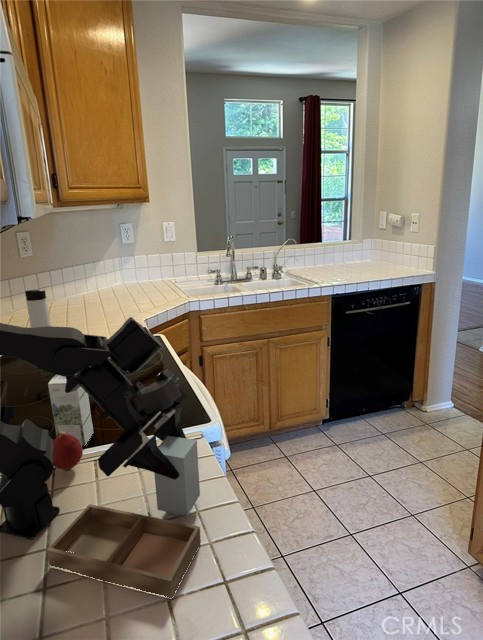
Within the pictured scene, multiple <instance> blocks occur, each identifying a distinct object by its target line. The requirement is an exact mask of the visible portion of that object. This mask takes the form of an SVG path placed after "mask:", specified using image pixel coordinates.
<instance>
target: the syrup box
mask: <svg viewBox="0 0 483 640" xmlns="http://www.w3.org/2000/svg"><path fill="white" fill-rule="evenodd" d="M47 386H48V393H49V398H50V404H51V405H50V406H51V410H52V416H53V422H54V428H55V435H56V438H57V437H58V436H59V435H58V433H59V432H64V433H67V434H70V435H72V436H74V437H76V438H77V439H78V440H79V441H80V443H81V445H82V446H83V445H84V446H85V445H86V444H87V442H88V441H89V442H90V440H91V439H90V438H92V437H93V435H94V426H93V425H94V424H93V420H92V414H91V407H90V406H91V405H90V399H89V397H90V396H89V395H88V394H87V393H86V392H85V391H84V390H83V389H82V387H81V386H80V387H79V388H78V389H77V390H76V391H74V392H70V393H66V392H65V387H66V376H60V375H57V374H54V376H53V377H52V378H51V379H50V380H49V382H48V383H47ZM92 434H93V435H92ZM91 436H92V437H91ZM89 439H90V440H89ZM89 442H88V443H89ZM87 445H88V444H87ZM87 445H86V446H87Z"/></svg>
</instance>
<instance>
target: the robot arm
mask: <svg viewBox="0 0 483 640" xmlns="http://www.w3.org/2000/svg"><path fill="white" fill-rule="evenodd" d="M163 348H164V346H163V345H162V343H161V342H160V340H158V338H157V337H156V336H155V335H154V334H153V333H152V332H151V331H150V330H149V329H148V328H147V327H146V326H143V325H142V324H141V323H140V322H138V321H136V319H134V318H133V317H128V318H127V319H126V320H125V321H124V322H123V324H122V325H121V326H120V328H119V329H117V330H116V331H115V332H114V333H113V334H112V335H111V336H110V337H108V338H107V336H103V335H94V334H93V335H91V334H85V333H83V332H82V331H80V329H78V328H74V327H71V326H53V325H51V326H47V327H36V328H31V327H26V326H25V327H23V326H18V325H14V324H13V325H12V324H8V323H4V322H3V323H1V322H0V356H2V357H8V358H15V359H16V360H17V359H18V360H20V361H23V362H25V363H27V364H29V365H31V366H33V367H34V368H37V369H38V370H42V371H45V372H47V373H50V374H54V375H56V374H57V375H60V376H66V387H65V392H66V393H70V392H74V391H76V390H77V389H78V388H79V387H80V386H81V387H82V389H83V390H84V391H85V392H86V393H87V394H88V396H89V397H90V398H91V399H92V400H93V401H94V402H95V403H96V404H97V405H98V406H99V408H100V409H101V410H102V411H103V412H102V413H101V414H100V415H99V416H100V418H102V420H104V421H106V420H107V419H109V418H110V419H111V420H112V422H114V423H115V424H116V425H117V427H118V428H120V429H121V430H122V432H121V433H119V435H118V436H119V438H118V439H117V440H115V442H113V443H112V444H111V446H110V447H108V449H107V450H105V451H104V452H103V453H102V454H101V455H100V456H99V457H98V459H97V461H98V468H99V470H101V472H102V473H104V474H105V476H106V477H107V478H109V477H110V476H111V475H112V474H113V473H114V472H115V471H116V470H118V469H119V468H120V467H121V466H123V468H127V467H128V466H130V467H134V468H137V469H140V470H141V469H142V470H146V471H147V472H148V471H149V472H151V473H157V474H160V475H163V476H166V477H168V478H171V479H174V480H175V479H177V478H178V477H179V475H180V474H179V473H178V471H177V470H176V468H175V467H174V466H173V465H172V464H171V462H170V461H169V460H168V459H167V458H166V457H165V456H164V454H163V453H162V452H161V451H160V450H159V449H158V443H157V439H159V440H161V442H163V440H164V439H165V438H166V437H167V436H173V437H180V438H186V439H188V438H187V437H186V435H185V432H184V430H183V428H182V427H183V426H182V424H181V421H180V420H181V411H182V409H183V408H182V406H180V404H182V402H184V400H185V399H186V398H187V397H188V396H187V394H186V393H185V392H184V391H183V390H182V389H181V388H180V387H179V385H180V383H181V379H180V378H179V377H177V375H176V374H174V373H173V372H172V371H171V370H170V369H169V368H168V369H167V368H166V369H165V370H162V371H160V372H159V373H158V374H157V375H156V376H155V381H154V382H153V383H151V384H150V385H148V386H146V385H145V384H143V383H142V382H141V381H138V380H137V381H136V382H134V383H132V381H130V380H129V379H128V378H127V377H126V376H125V375H124V373H123V372H125V373H128V372H129V373H130V374H133V373H134V372H135V373H136V372H138V371H140V370H141V369H142V368H143V367H144V366H145V365H146V364H147V363H148V362H149V361H150V360H152V358H154V356H155V355H156V354H158V352H160V351H161V350H162V349H163ZM110 359H111V360H112V361H113V362H114V363H113V362H112V361H111V360H110ZM115 364H116V365H117V366H116V365H115ZM118 367H119V368H120V369H121V370H122V371H123V372H121V371H120V370H119V368H118ZM178 406H180V407H178ZM176 407H178V408H177V409H175V408H176ZM148 420H149V421H148ZM153 428H155V431H154V432H153V433H152V437H150V438H149V437H148V435H147V434H148V433H149V432H150V431H151V430H152V429H153ZM53 440H54V439H53V438H52V436H50V435H49V429H45V428H41V427H39V426H38V425H36V424H35V423H34V422H33V421H31V420H30V419H28V418H26V419H24V421H23V422H22V424H21V425H14V424H7V423H5V422H3V421H2V420H0V474H1V477H0V507H2V510H3V515H4V518H5V520H4V521H3V522H2V523H1V524H0V532H1V533H3V532H4V533H5V534H7V535H11V536H16V537H20V536H21V537H20V538H24V537H25V538H24V539H28V538H31V539H33V538H35V537H36V536H37V535H38V533H40V532H41V531H42V530H43V528H45V527H46V525H48V524H49V522H50V521H52V520H53V518H55V517H56V515H58V514H59V513H60V512H61V511H60V510H61V509H60V507H59V506H54V505H53V500H52V495H51V493H49V492H50V491H49V486H48V483H47V481H49V479H50V478H51V476H52V474H53V470H54V466H53V465H54V449H55V448H54V442H53ZM122 464H123V465H122ZM32 537H33V538H32Z"/></svg>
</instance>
